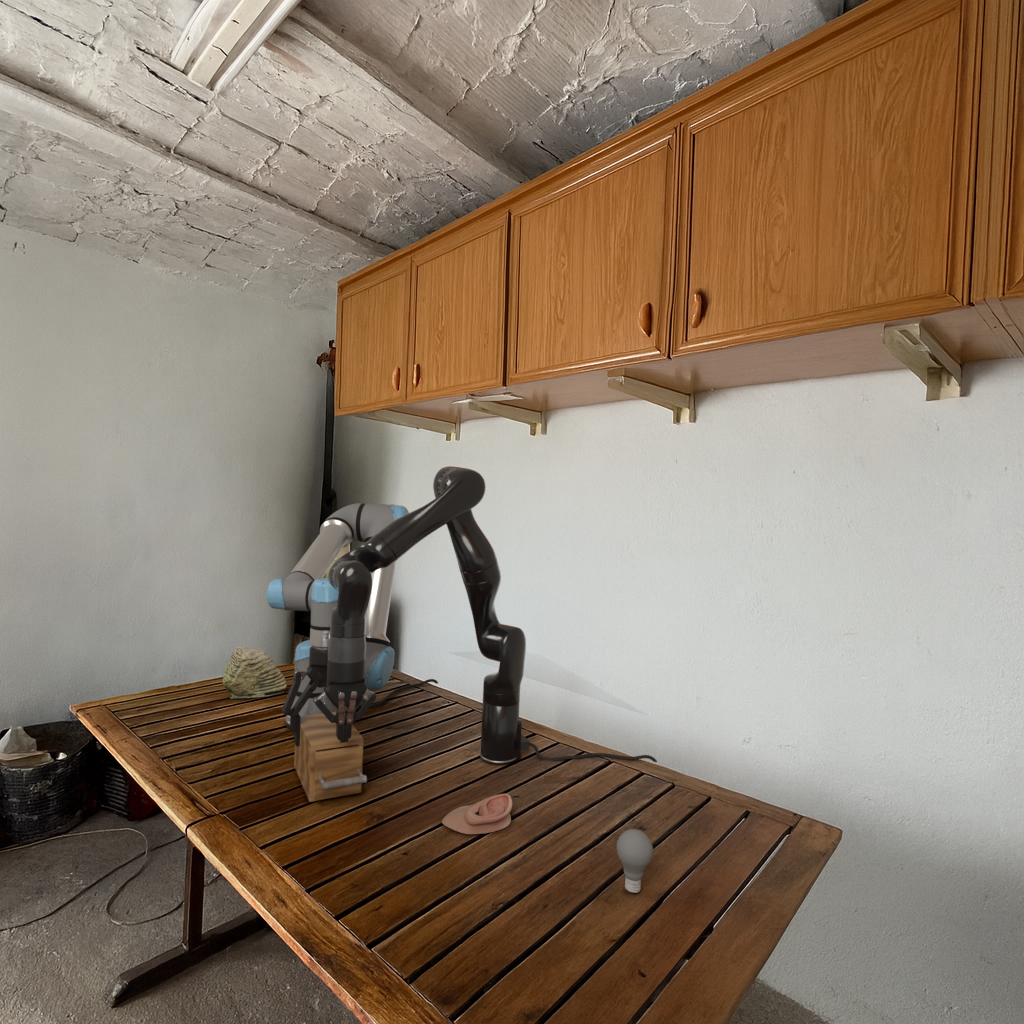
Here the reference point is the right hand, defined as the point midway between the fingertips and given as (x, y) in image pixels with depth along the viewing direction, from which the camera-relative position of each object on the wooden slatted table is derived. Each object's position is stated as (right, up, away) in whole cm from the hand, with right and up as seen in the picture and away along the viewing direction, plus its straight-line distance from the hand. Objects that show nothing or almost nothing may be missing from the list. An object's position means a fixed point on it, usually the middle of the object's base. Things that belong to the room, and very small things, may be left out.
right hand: (343, 740), depth 130 cm
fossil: (-46, -10, +68) cm, 83 cm away
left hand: (-9, -6, +17) cm, 20 cm away
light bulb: (+55, -17, -24) cm, 62 cm away
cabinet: (-7, -13, +13) cm, 20 cm away
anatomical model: (+28, -15, -3) cm, 32 cm away
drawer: (-5, -12, +8) cm, 15 cm away
